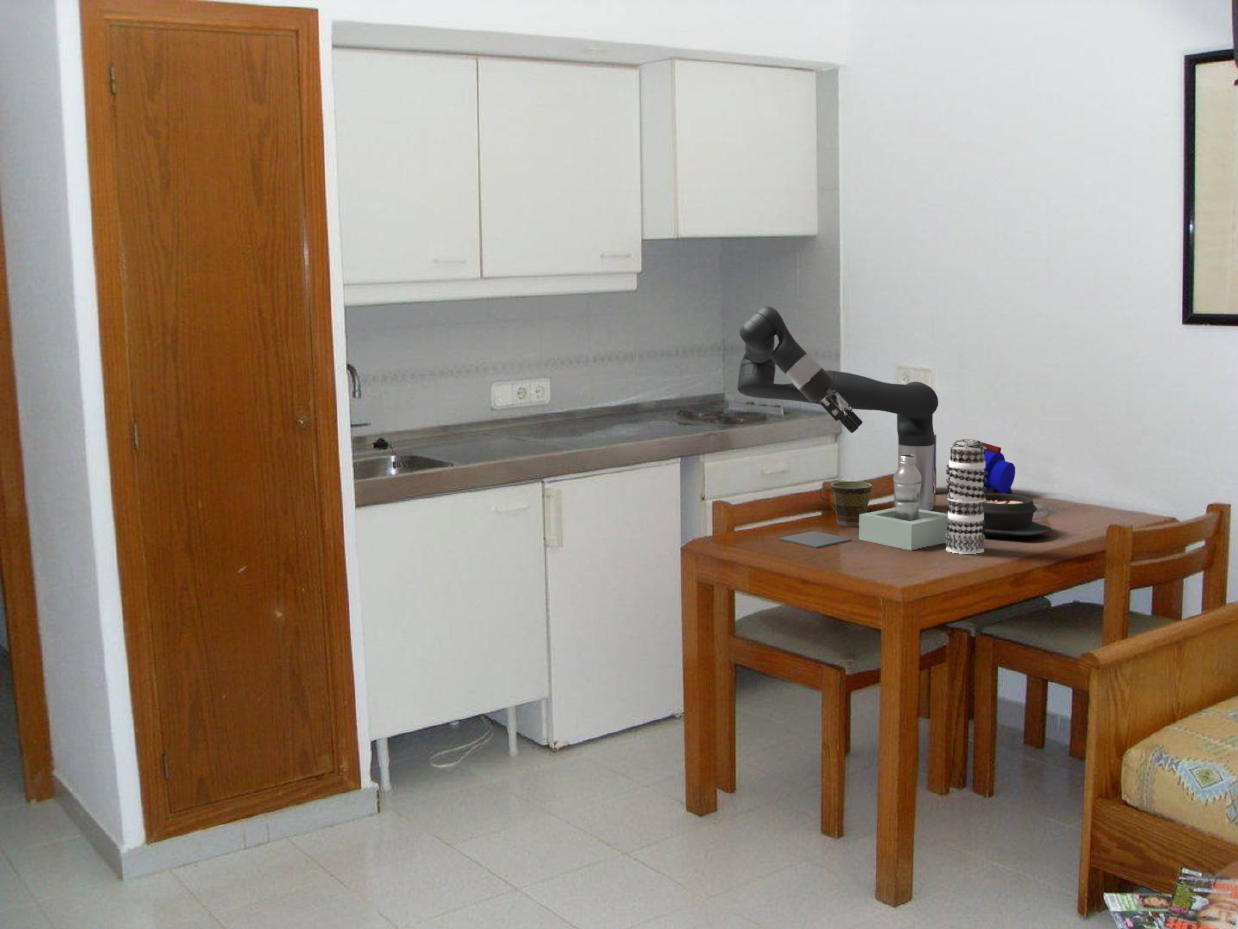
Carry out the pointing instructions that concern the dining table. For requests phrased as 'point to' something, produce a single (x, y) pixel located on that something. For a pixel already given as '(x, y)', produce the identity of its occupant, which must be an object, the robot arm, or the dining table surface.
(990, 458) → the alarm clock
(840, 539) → the rubber mat
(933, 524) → the holder block
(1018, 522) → the casserole
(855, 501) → the ceramic cup
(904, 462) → the plastic bottle
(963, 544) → the black and white cylinder
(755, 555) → the dining table surface
